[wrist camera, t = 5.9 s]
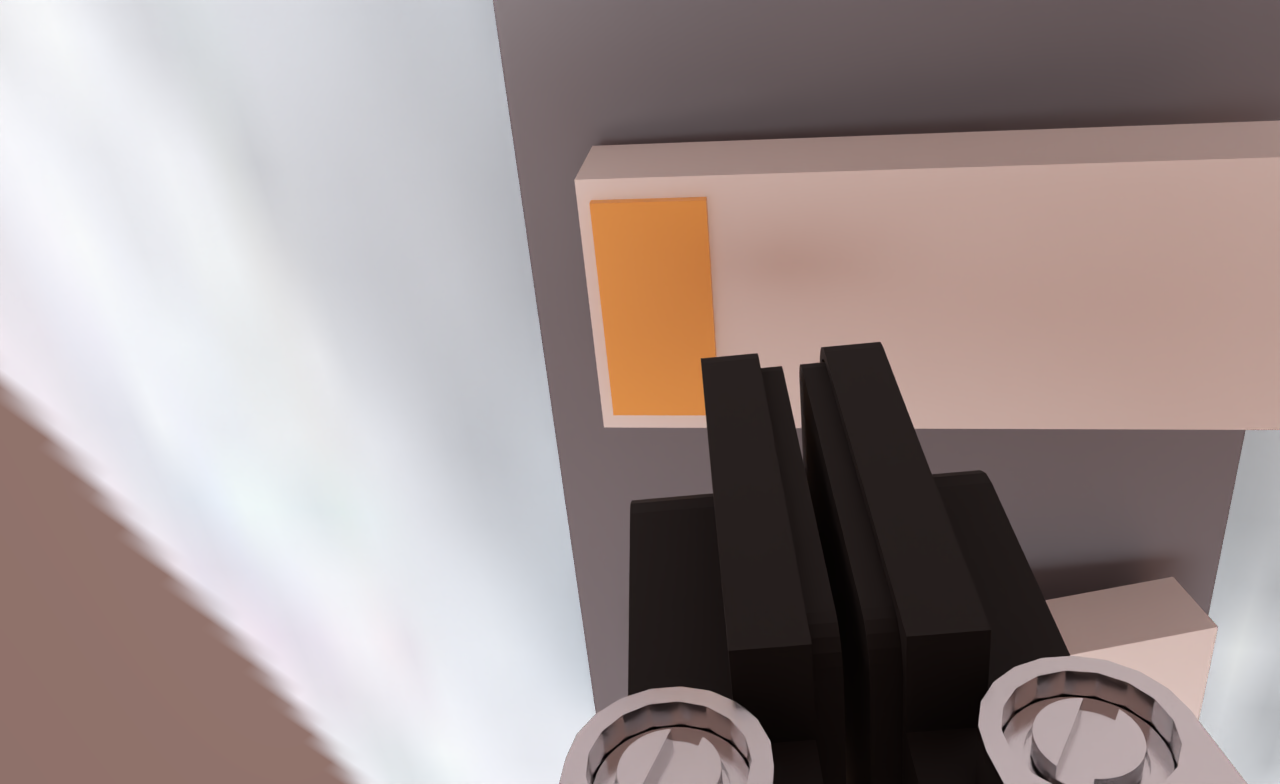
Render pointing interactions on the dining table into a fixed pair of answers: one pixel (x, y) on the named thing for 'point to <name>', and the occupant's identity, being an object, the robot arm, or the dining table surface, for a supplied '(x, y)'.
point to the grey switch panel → (864, 106)
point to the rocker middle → (949, 272)
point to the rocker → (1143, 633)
